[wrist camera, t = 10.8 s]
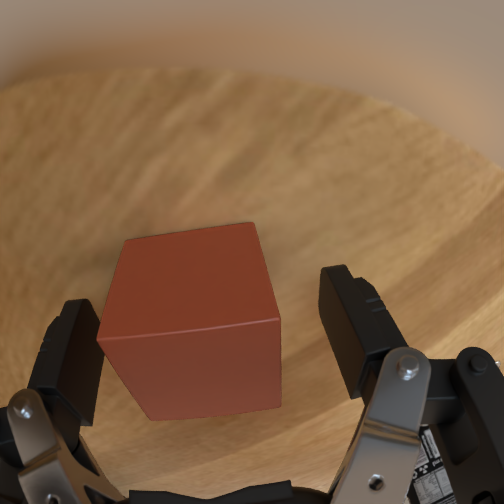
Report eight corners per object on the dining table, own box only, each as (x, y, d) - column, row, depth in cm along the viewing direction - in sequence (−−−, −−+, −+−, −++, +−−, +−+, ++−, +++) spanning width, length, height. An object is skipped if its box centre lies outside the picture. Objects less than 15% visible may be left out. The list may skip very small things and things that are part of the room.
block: (156, 327, 12) (150, 421, 9) (124, 239, 10) (94, 339, 6) (261, 314, 13) (281, 408, 9) (253, 220, 10) (281, 318, 7)
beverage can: (419, 440, 30) (449, 520, 20) (377, 451, 28) (407, 542, 18) (453, 412, 26) (492, 499, 16) (413, 423, 25) (452, 526, 15)
